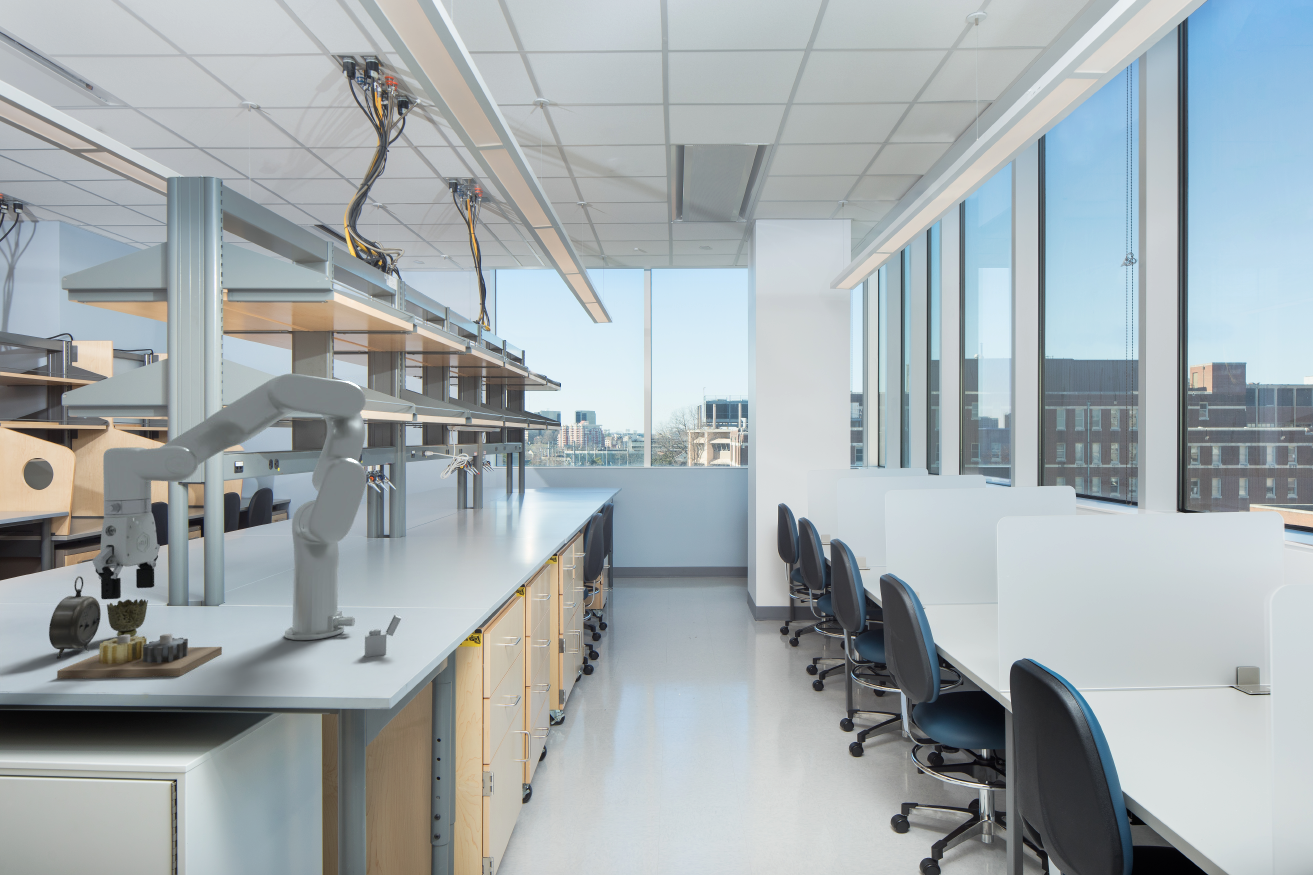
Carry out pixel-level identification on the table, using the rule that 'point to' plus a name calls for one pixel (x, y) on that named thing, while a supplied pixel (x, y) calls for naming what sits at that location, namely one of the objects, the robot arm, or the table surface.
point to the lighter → (379, 639)
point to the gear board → (146, 661)
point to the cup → (127, 616)
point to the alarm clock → (74, 621)
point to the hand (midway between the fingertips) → (128, 592)
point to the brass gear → (121, 650)
